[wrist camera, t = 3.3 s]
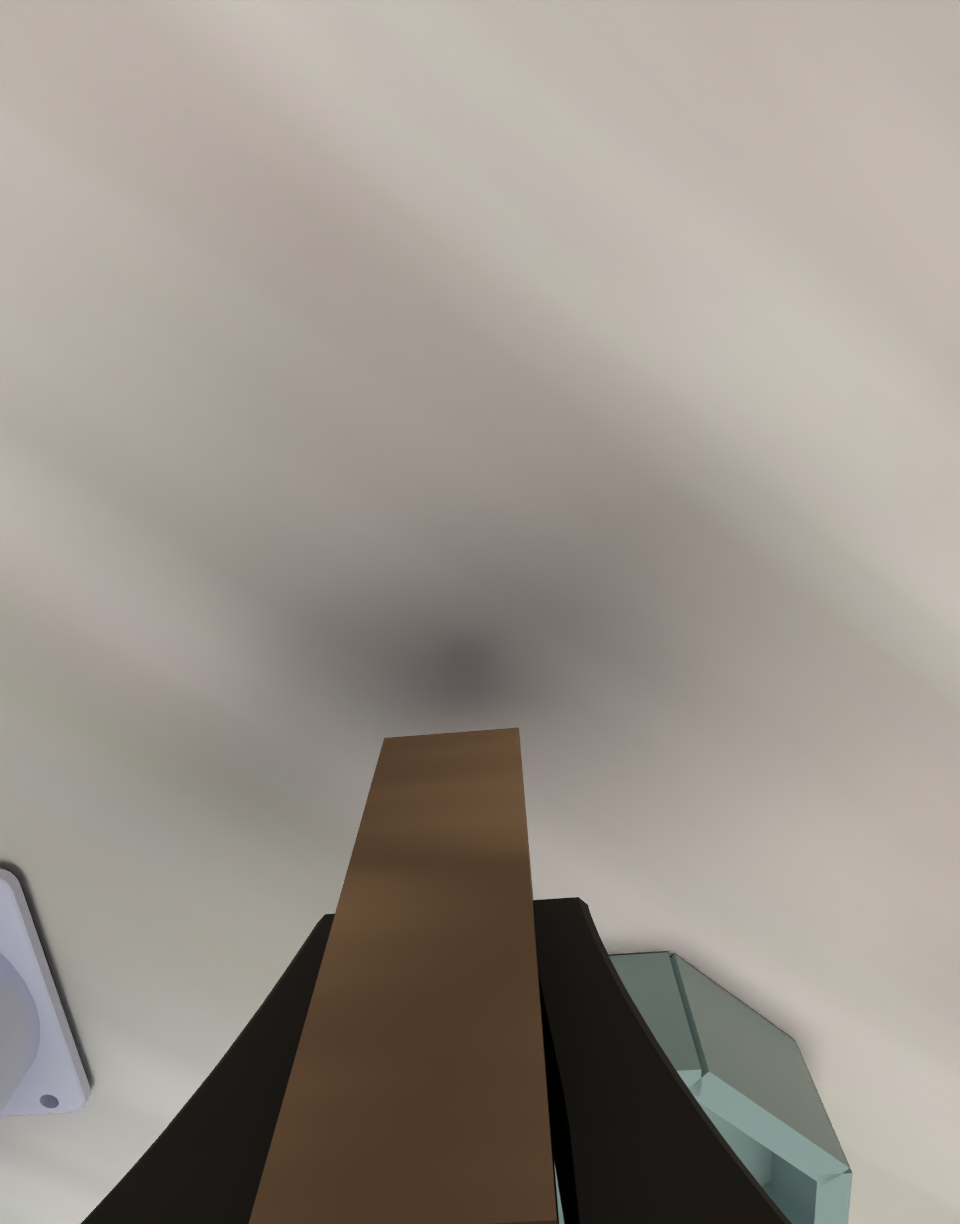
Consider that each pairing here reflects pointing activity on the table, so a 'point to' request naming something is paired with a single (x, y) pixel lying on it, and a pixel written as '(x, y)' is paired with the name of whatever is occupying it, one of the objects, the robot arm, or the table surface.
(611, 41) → the table surface
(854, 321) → the table surface
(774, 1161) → the bowl
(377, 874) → the wooden block
